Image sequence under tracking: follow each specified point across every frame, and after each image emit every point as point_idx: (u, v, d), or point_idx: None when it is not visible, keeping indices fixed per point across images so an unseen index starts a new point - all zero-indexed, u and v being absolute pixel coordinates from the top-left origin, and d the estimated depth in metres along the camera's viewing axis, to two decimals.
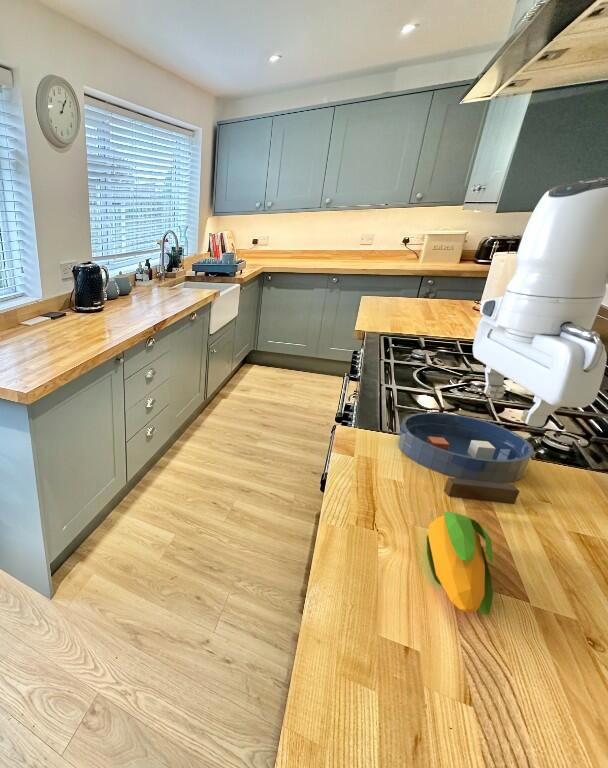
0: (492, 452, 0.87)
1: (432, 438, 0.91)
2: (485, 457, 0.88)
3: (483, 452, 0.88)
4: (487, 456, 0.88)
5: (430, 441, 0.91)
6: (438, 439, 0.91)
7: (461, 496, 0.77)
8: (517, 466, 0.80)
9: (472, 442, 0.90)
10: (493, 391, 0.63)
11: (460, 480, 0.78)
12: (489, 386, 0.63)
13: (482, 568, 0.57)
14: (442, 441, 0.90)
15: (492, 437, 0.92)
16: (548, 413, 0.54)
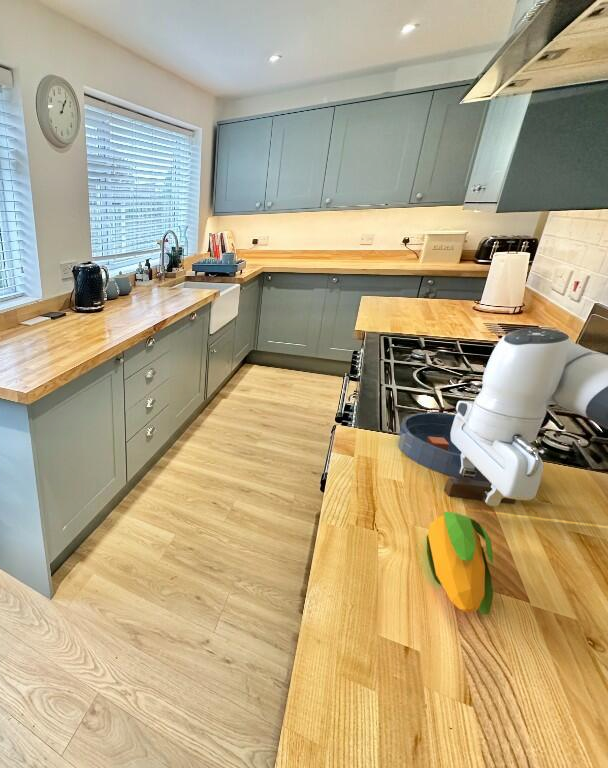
0: None
1: (432, 438, 0.91)
2: None
3: None
4: None
5: (430, 441, 0.91)
6: (438, 439, 0.91)
7: (461, 496, 0.77)
8: None
9: None
10: (466, 473, 0.80)
11: (460, 480, 0.78)
12: (463, 469, 0.80)
13: (482, 568, 0.57)
14: (442, 441, 0.90)
15: None
16: (501, 497, 0.71)
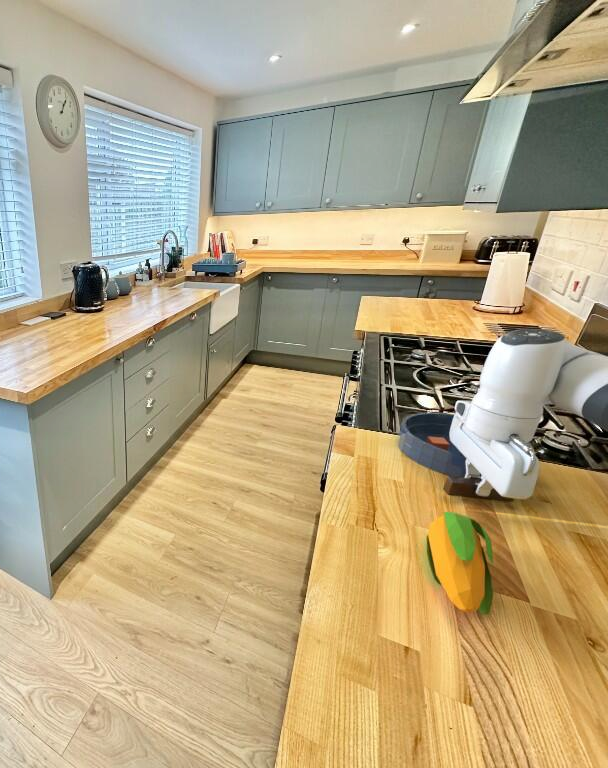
0: None
1: (432, 438, 0.91)
2: None
3: None
4: None
5: (430, 441, 0.91)
6: (438, 439, 0.91)
7: (460, 495, 0.78)
8: None
9: None
10: None
11: (460, 479, 0.78)
12: (468, 475, 0.78)
13: (482, 568, 0.57)
14: (442, 441, 0.90)
15: None
16: (491, 487, 0.74)
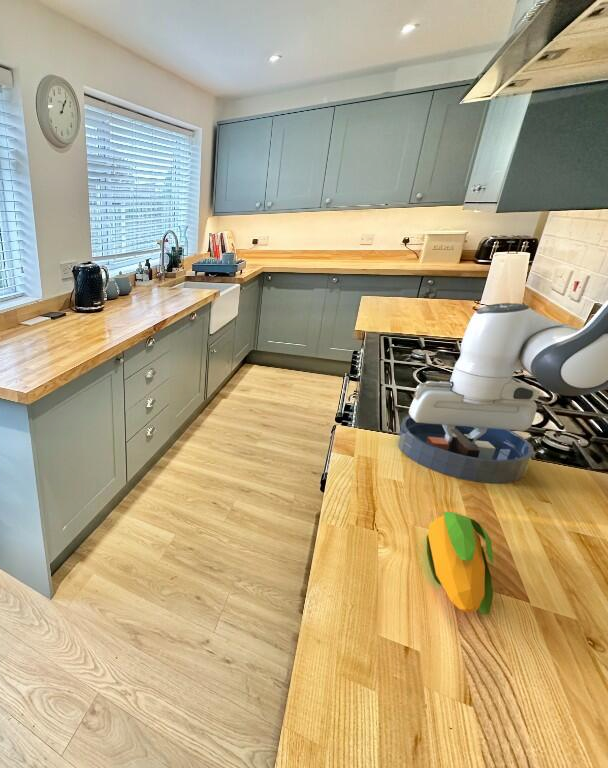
0: (492, 452, 0.87)
1: (432, 438, 0.91)
2: (485, 457, 0.88)
3: (483, 452, 0.88)
4: (487, 456, 0.88)
5: (430, 441, 0.91)
6: (438, 439, 0.91)
7: None
8: (517, 466, 0.80)
9: None
10: None
11: (456, 431, 0.91)
12: (467, 434, 0.89)
13: (482, 568, 0.57)
14: (442, 441, 0.90)
15: (492, 437, 0.92)
16: (448, 434, 0.89)
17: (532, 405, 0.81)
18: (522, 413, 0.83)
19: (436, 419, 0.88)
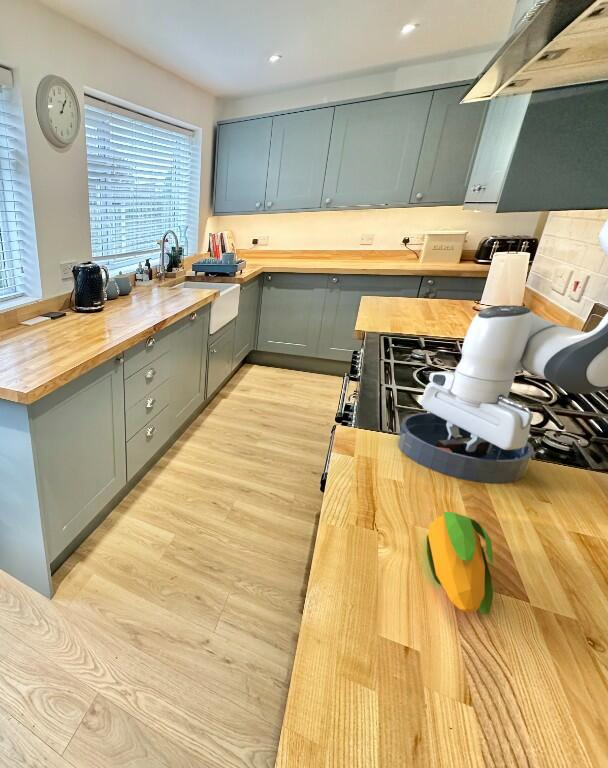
0: (489, 445, 0.89)
1: None
2: None
3: None
4: None
5: None
6: (443, 449, 0.87)
7: None
8: (517, 466, 0.80)
9: None
10: None
11: (447, 441, 0.89)
12: (452, 436, 0.90)
13: (482, 568, 0.57)
14: None
15: None
16: (478, 443, 0.86)
17: None
18: None
19: None
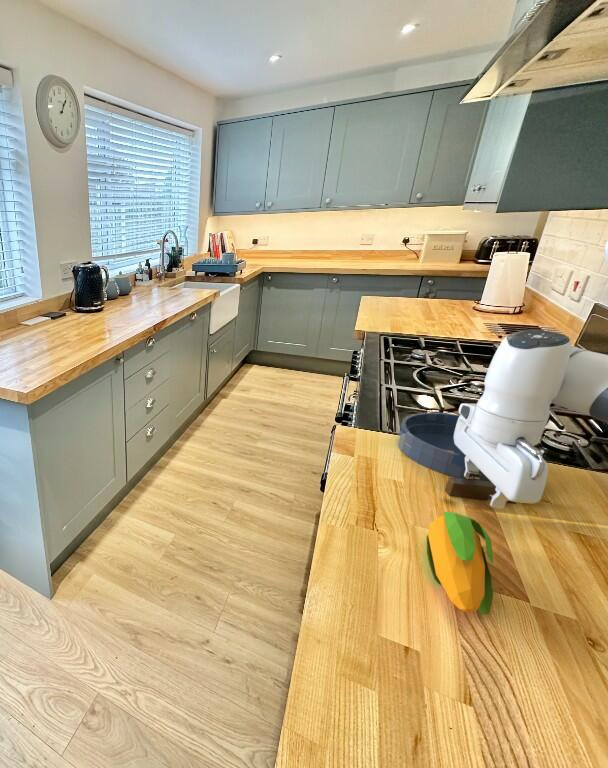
0: None
1: None
2: None
3: None
4: None
5: None
6: None
7: (462, 496, 0.77)
8: None
9: None
10: (471, 476, 0.79)
11: (461, 480, 0.78)
12: (468, 472, 0.80)
13: (482, 568, 0.57)
14: None
15: None
16: (506, 500, 0.71)
17: None
18: None
19: None
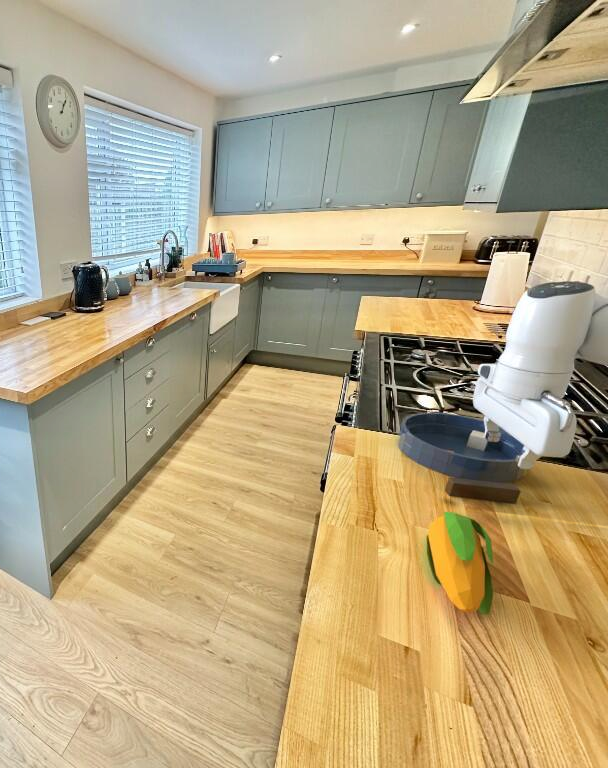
0: (484, 442, 0.91)
1: None
2: (477, 446, 0.92)
3: (475, 441, 0.92)
4: (479, 446, 0.91)
5: None
6: None
7: (462, 496, 0.77)
8: (517, 466, 0.80)
9: (472, 432, 0.94)
10: (491, 436, 0.78)
11: (461, 480, 0.78)
12: (488, 432, 0.79)
13: (482, 568, 0.57)
14: None
15: None
16: (535, 459, 0.69)
17: None
18: None
19: None
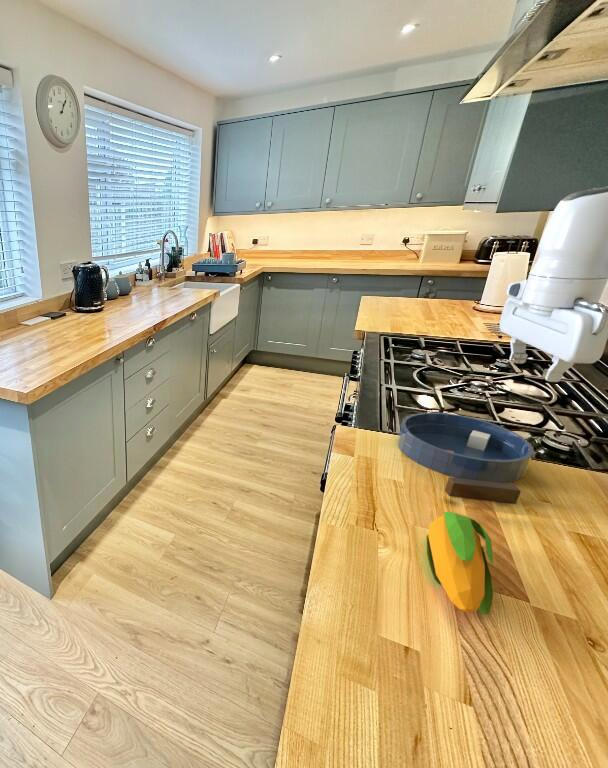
0: (484, 442, 0.91)
1: None
2: (477, 446, 0.92)
3: (475, 441, 0.92)
4: (479, 446, 0.91)
5: None
6: None
7: (462, 496, 0.77)
8: (517, 466, 0.80)
9: (472, 432, 0.94)
10: (517, 358, 0.78)
11: (461, 480, 0.78)
12: (514, 354, 0.78)
13: (482, 568, 0.57)
14: None
15: (492, 437, 0.92)
16: (564, 370, 0.68)
17: None
18: None
19: None
